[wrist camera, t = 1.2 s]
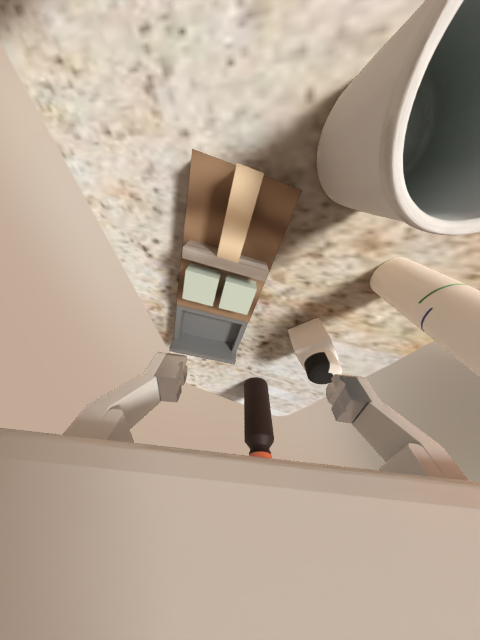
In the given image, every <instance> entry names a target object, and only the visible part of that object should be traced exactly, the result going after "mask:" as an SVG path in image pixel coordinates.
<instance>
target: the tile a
mask: <svg viewBox="0 0 480 640" xmlns="http://www.w3.org/2000/svg"><path fill="white" fill-rule="evenodd" d="M220 274H221V272H220V271H217V270H213V269H210V268H206V267H203V266H199V265H196V264H192V263H190V264H189V266H188V267H187V269H186V272H185V280H184V288H183V296H182V299H185V300H189V301H193V302H197V303H201V304H205V305H209V306H213V303H214V299H215V295H216V291H217V287H218V283H219V279H220Z"/></svg>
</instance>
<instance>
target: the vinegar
mask: <svg viewBox="0 0 480 640" xmlns="http://www.w3.org/2000/svg"><path fill="white" fill-rule="evenodd" d="M244 410H245V413H244V414H245V443H246V444H247V445H248V446H249V448H250V452H249V456H254V457H263V458H272V456H271V452H270V451H269V448H270V446H271V445H272V443H273V441H274V436H273V427H272V419H271V411H270V402H269V394H268V386H267V383H266V381H265V380H263V379H261V378H251V379H249V380H247V381H246V382H245V384H244Z"/></svg>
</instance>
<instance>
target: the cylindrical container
mask: <svg viewBox="0 0 480 640" xmlns="http://www.w3.org/2000/svg"><path fill="white" fill-rule="evenodd" d="M370 287H371V289H372V290H373V291H374V292H375V293H376V294H378V295H379V296H380V297H381V298H383V299H384V300H385V301H386V302H388V303H389V304H390V305H391V306H393V307H394V308H395V309H396V310H398V311H399V312H400V313H401V314H402V315H404V316H405V317H406V318H407V319H409V320H410V321H411V322H412V323H414V324H415V325H416V326H417V327H419V328H420V329H421V330H422V331H424V332H425V333H426V334H427V335H429V336H430V337H431V338H432V339H433V340H435V341H436V342H437V343H438V344H440V345H441V346H442V347H443V348H445V349H446V350H447V351H448V352H450V353H451V354H452V355H453V356H455V357H456V358H457V359H458V360H459V361H461V362H462V363H463V364H464V365H466V366H467V367H468V368H469V369H471V370H472V371H473V372H474V373H476V374H477V375H478V376H479V377H480V291H479V290H477V289H475V288H473V287H470V286H468V285H466V284H463V283H461V282H459V281H457V280H454V279H452V278H450V277H448V276H445V275H443V274H441V273H439V272H436V271H434V270H432V269H430V268H427V267H425V266H423V265H420V264H418V263H416V262H414V261H411V260H409V259H407V258H403V257H397V258H393V259H390V260H388V261H386V262H384V263H383V264H382V265H380V266H379V267H378V268H377V269H376V270H375V271H374V273H373V275H372V277H371V279H370Z"/></svg>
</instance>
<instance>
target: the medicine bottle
mask: <svg viewBox="0 0 480 640" xmlns="http://www.w3.org/2000/svg"><path fill="white" fill-rule="evenodd" d="M288 333H289V336H290V340H291V343H292V346H293V349H294V352H295V354H296V356H297V357H298V359H299V361H300V362H301V364H302V366H303V368H304V369H305V371H306V373H307V376H308V379H309V380H310V381H312V382H314V383H316V384H327V383H331V382H333V381H332V379H331V378H332V377H333V375H335V374H340V375H341V373H342V368H341V366H340V364H339V362H338V360H339V359H338V356H337V354H336V351H335V349H334V346H333V344H332V341H331V339H330V337H329V335H328V333H327V332H326V330H325V328H324V326H323V325H322V323H321V321H320V319H319V318H315V319H312V320H310V321H308V322H305V323H303V324H300V325H298V326H295V327H293V328H291V329H288Z"/></svg>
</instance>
